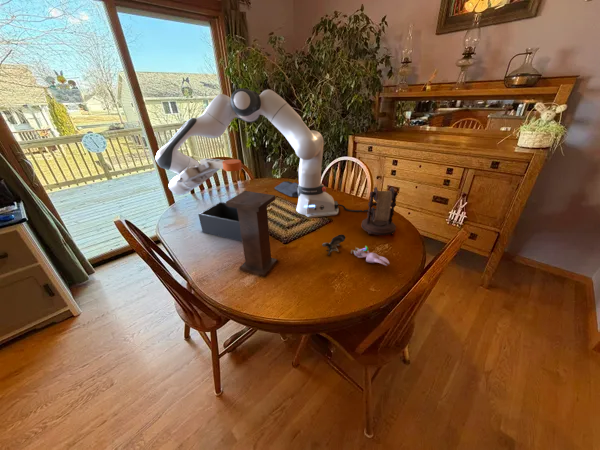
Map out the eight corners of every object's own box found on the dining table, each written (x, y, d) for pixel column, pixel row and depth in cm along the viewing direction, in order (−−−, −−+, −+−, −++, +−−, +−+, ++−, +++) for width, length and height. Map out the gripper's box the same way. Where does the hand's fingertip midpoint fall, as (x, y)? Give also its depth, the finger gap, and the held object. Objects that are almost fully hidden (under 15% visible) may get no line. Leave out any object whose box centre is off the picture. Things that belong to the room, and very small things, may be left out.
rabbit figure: (348, 258, 90) (382, 272, 79) (347, 244, 88) (383, 257, 77) (358, 252, 94) (393, 265, 82) (358, 238, 92) (393, 250, 80)
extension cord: (197, 167, 95) (196, 160, 94) (209, 163, 101) (208, 156, 100) (234, 172, 89) (233, 164, 88) (245, 167, 95) (244, 160, 93)
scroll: (364, 238, 101) (370, 193, 91) (358, 221, 114) (363, 181, 104) (399, 238, 100) (409, 194, 90) (389, 222, 113) (397, 181, 103)
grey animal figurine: (343, 257, 87) (349, 241, 93) (333, 242, 85) (340, 227, 91) (326, 260, 92) (334, 245, 98) (316, 247, 90) (325, 232, 96)
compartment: (202, 231, 107) (198, 214, 102) (223, 218, 118) (220, 201, 114) (244, 242, 99) (241, 223, 95) (262, 226, 111) (260, 208, 106)
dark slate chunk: (290, 183, 164) (290, 177, 162) (312, 192, 150) (312, 184, 147) (272, 188, 155) (272, 181, 153) (293, 198, 141) (293, 190, 138)
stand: (237, 270, 83) (225, 201, 70) (253, 254, 91) (245, 190, 78) (265, 278, 79) (258, 207, 66) (279, 261, 87) (275, 195, 75)
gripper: (170, 175, 94) (188, 161, 87) (206, 163, 110) (224, 150, 103) (179, 189, 95) (198, 176, 88) (213, 175, 112) (232, 163, 105)
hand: (213, 162), depth 96 cm, fingers closed on extension cord, 3 cm apart
